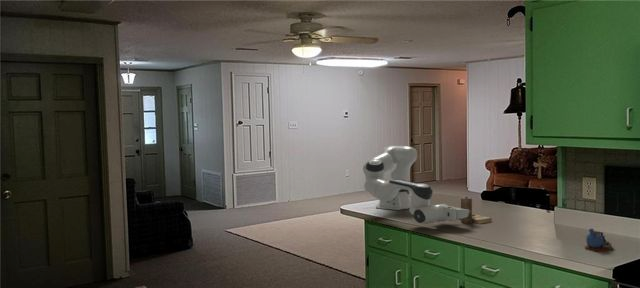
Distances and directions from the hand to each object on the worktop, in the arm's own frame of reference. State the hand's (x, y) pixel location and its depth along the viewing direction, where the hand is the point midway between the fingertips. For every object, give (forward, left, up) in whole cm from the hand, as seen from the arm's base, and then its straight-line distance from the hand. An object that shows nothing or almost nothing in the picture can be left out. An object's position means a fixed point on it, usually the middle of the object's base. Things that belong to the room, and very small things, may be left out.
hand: (461, 209), depth 282 cm
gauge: (+3, +5, -8) cm, 10 cm away
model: (+60, -38, -8) cm, 72 cm away
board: (+3, +12, -8) cm, 15 cm away
